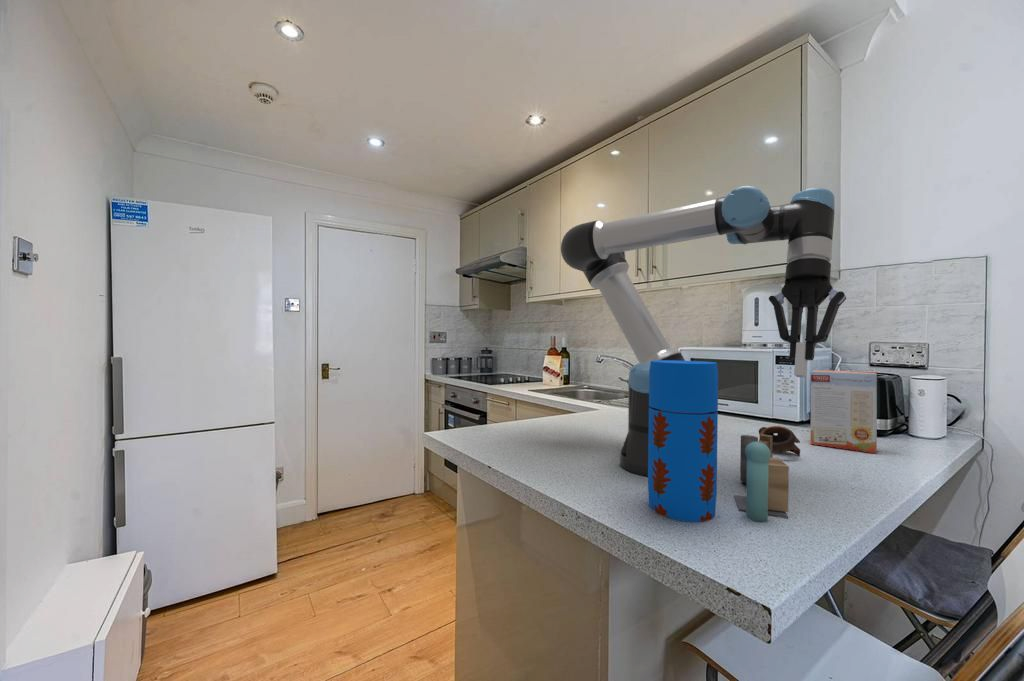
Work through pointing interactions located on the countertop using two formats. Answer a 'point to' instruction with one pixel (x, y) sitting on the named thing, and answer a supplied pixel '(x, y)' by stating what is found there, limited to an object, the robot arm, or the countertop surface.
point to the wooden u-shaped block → (769, 477)
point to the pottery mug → (781, 439)
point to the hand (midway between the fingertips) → (800, 375)
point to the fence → (767, 441)
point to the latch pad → (742, 506)
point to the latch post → (757, 481)
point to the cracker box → (844, 410)
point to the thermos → (683, 439)
